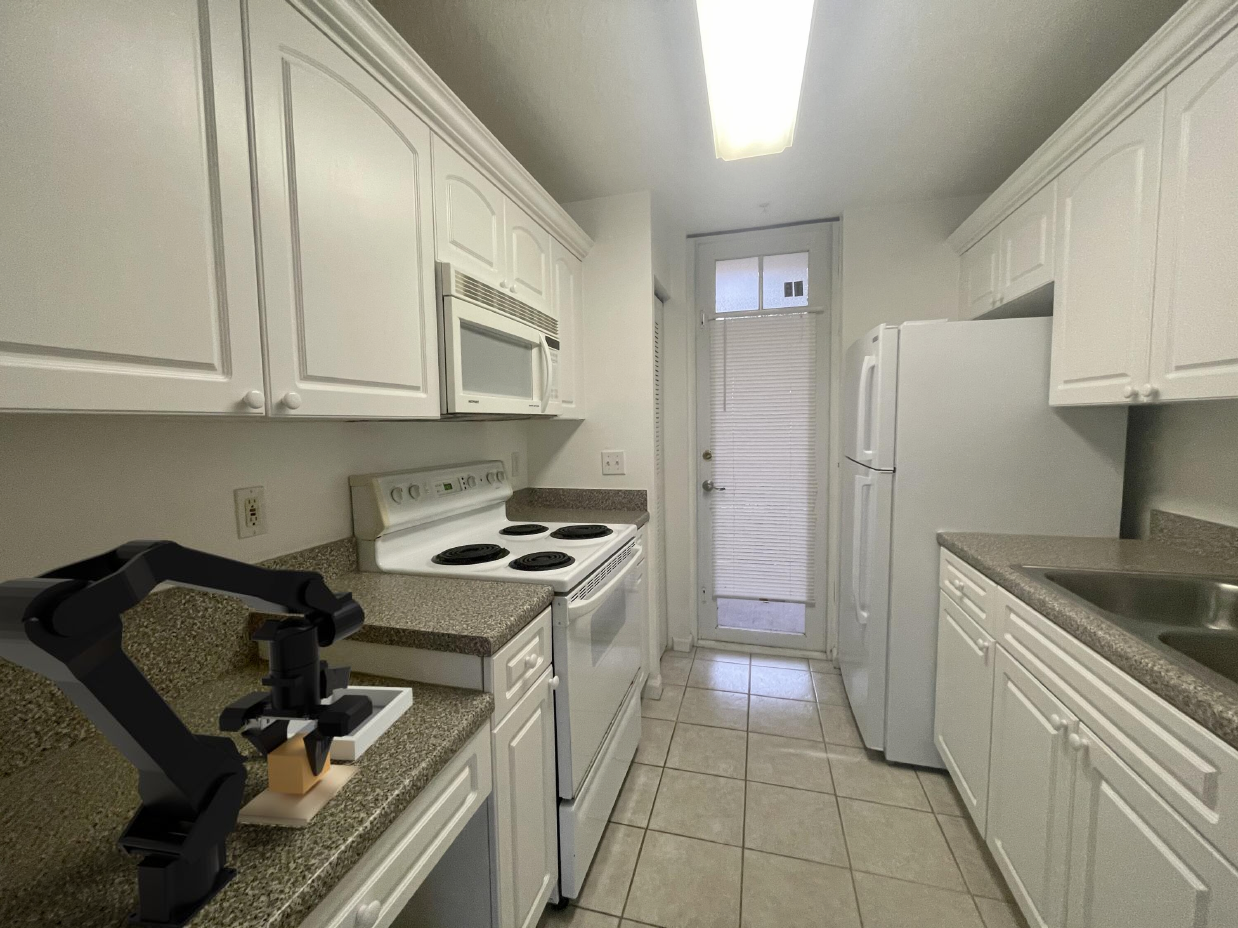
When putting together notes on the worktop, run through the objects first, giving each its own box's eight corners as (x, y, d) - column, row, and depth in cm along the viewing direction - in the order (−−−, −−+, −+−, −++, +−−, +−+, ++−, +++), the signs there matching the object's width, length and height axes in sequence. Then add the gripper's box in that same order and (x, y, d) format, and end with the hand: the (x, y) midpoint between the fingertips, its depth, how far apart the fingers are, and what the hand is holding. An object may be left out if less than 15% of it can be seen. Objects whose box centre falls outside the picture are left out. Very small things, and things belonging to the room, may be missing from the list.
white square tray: (355, 763, 73) (354, 740, 72) (260, 757, 74) (259, 736, 74) (412, 706, 88) (411, 687, 88) (333, 703, 90) (332, 685, 90)
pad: (307, 826, 60) (307, 818, 60) (236, 821, 62) (235, 813, 61) (359, 772, 70) (358, 766, 70) (297, 769, 71) (296, 762, 71)
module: (303, 793, 63) (301, 756, 63) (269, 791, 64) (267, 754, 63) (330, 768, 68) (328, 734, 68) (298, 766, 69) (296, 732, 68)
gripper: (393, 639, 72) (397, 740, 73) (281, 637, 74) (285, 735, 75) (342, 674, 61) (347, 793, 62) (212, 670, 63) (218, 784, 64)
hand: (300, 772), depth 66 cm, fingers closed on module, 5 cm apart
